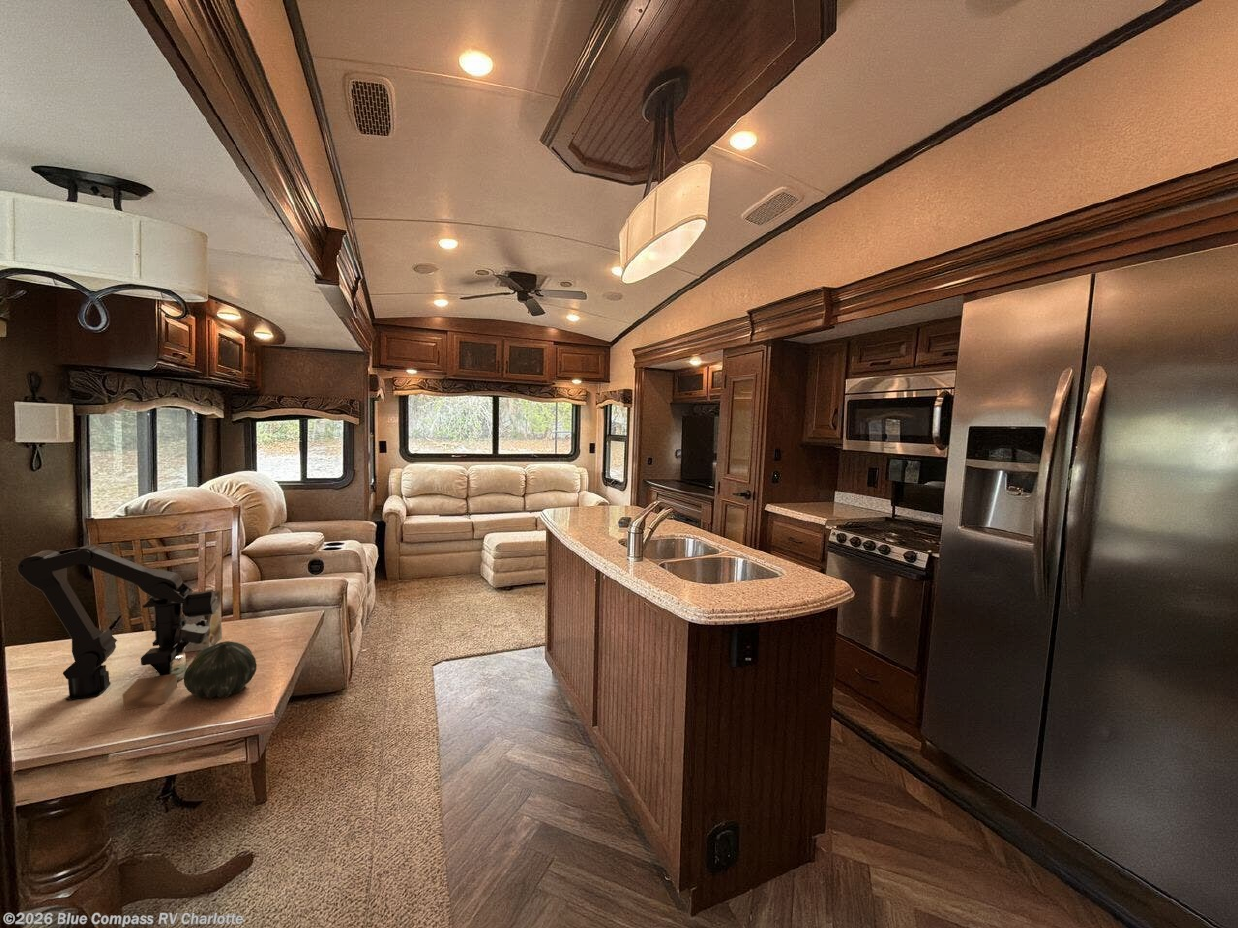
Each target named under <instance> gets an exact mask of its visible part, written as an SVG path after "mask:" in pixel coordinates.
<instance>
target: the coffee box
mask: <svg viewBox="0 0 1238 928" xmlns="http://www.w3.org/2000/svg"><path fill="white" fill-rule="evenodd" d="M213 593H214V594H215V598H216V599H217V607H216V612H215V614H212V615H204V616H196V617H188V616H185V615H184V614H183V618H185V620H187V624H193V623H195V625H196V624H197V623H198V622H199V621H200V620H201V619H203V620H207V623H208V626H210V627H209V628H210V630H209V631H208V634H207V636H206V639H204V641H203V642H202V643H201V644H195V643H193V642H189V643H188V644H187V645H186V646H185V648H184V649H185V652H195V651H202V650H204V649H206V648H208V647H211V646H213V645H215V644H217V642H218V641H220V640H222V638H223V632H222V631H223V628H222V610H221V608H222V607H221V590H213ZM218 643H219V642H218Z"/></svg>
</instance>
